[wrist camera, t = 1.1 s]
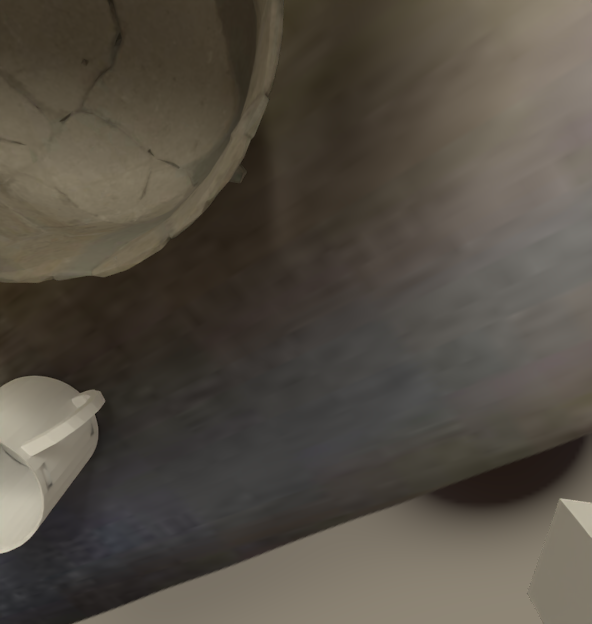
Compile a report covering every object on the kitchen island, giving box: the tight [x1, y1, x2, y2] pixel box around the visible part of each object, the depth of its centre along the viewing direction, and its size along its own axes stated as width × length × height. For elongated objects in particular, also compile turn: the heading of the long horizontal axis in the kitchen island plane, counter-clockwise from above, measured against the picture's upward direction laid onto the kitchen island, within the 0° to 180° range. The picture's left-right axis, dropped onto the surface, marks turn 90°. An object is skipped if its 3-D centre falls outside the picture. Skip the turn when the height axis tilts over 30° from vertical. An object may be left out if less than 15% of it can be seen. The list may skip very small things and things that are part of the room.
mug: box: [0, 376, 105, 553], centre depth 36 cm, size 12×9×9 cm
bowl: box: [0, 0, 284, 283], centre depth 26 cm, size 22×22×15 cm
